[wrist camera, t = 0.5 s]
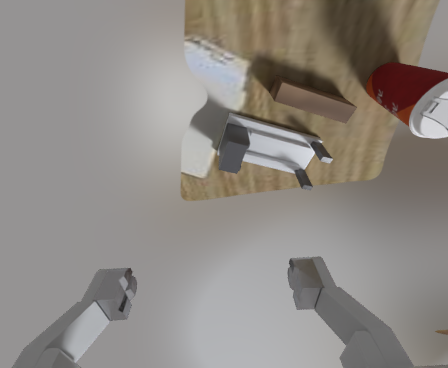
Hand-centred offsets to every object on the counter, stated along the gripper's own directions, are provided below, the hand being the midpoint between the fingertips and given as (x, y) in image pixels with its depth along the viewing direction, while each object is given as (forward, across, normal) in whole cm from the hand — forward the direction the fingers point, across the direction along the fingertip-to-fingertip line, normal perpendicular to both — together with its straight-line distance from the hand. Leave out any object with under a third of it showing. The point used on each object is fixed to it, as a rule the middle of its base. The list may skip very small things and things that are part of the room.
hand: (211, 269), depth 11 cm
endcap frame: (+36, -11, +9) cm, 39 cm away
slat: (+35, -17, -1) cm, 39 cm away
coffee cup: (+35, -30, -2) cm, 46 cm away
